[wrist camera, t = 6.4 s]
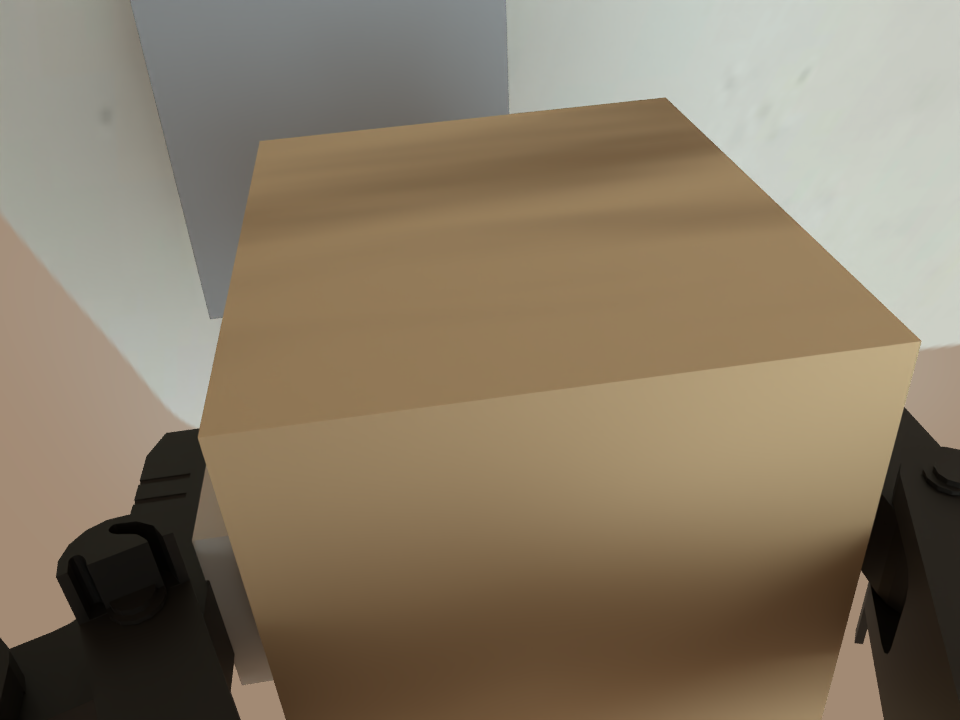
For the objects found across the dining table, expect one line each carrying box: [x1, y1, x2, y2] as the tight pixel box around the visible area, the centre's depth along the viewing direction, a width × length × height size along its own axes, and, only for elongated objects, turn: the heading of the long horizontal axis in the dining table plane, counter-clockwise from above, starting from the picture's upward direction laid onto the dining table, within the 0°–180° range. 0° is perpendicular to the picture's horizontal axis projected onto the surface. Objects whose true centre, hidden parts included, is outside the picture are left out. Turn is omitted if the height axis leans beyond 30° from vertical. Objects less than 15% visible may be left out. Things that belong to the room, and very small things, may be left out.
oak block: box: [198, 98, 921, 720], centre depth 14 cm, size 7×7×8 cm
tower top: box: [130, 0, 509, 319], centre depth 28 cm, size 10×10×5 cm
